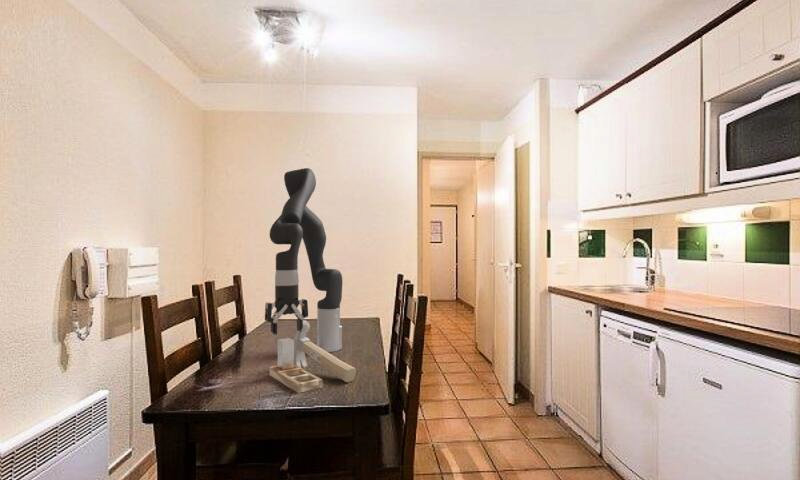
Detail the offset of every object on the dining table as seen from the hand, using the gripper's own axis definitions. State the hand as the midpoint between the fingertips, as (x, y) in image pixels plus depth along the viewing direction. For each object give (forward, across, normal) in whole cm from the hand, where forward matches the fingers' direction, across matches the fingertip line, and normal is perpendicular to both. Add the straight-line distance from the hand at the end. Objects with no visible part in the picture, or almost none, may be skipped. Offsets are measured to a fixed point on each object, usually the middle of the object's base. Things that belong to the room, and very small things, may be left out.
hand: (287, 332), depth 149 cm
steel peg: (+14, 0, 0) cm, 15 cm away
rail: (+14, 0, +7) cm, 16 cm away
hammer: (+15, -11, +4) cm, 19 cm away
